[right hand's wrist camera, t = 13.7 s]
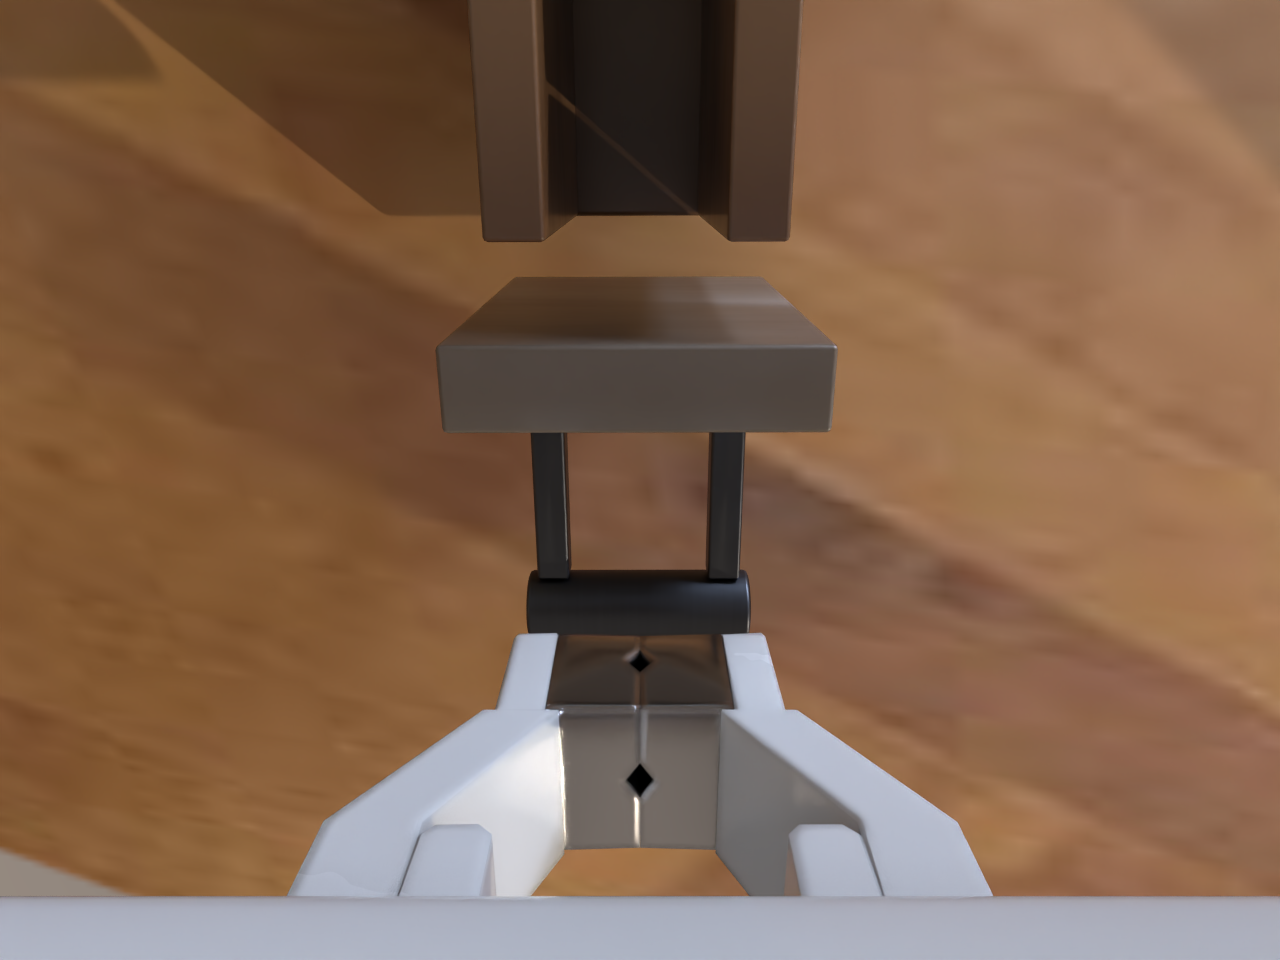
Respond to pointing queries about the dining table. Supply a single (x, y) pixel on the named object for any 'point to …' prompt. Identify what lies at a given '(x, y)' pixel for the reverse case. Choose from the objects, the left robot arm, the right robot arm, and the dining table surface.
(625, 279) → the drawer
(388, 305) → the dining table surface
